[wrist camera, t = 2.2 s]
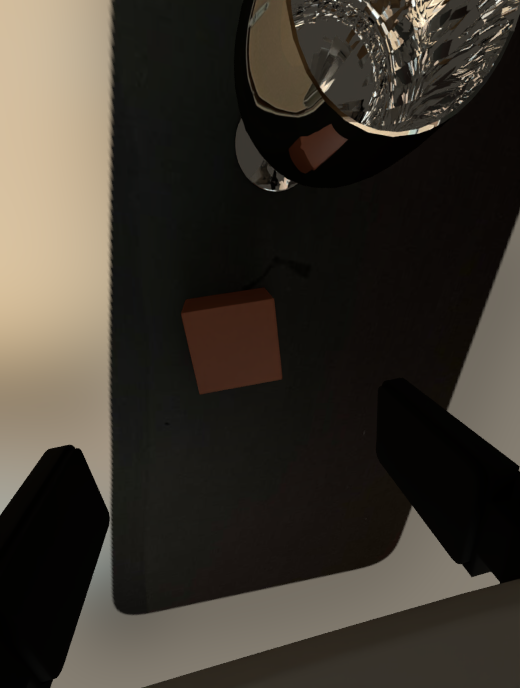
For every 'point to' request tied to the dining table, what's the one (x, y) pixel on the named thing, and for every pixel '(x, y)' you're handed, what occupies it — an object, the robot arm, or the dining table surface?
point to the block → (232, 339)
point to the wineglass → (355, 82)
